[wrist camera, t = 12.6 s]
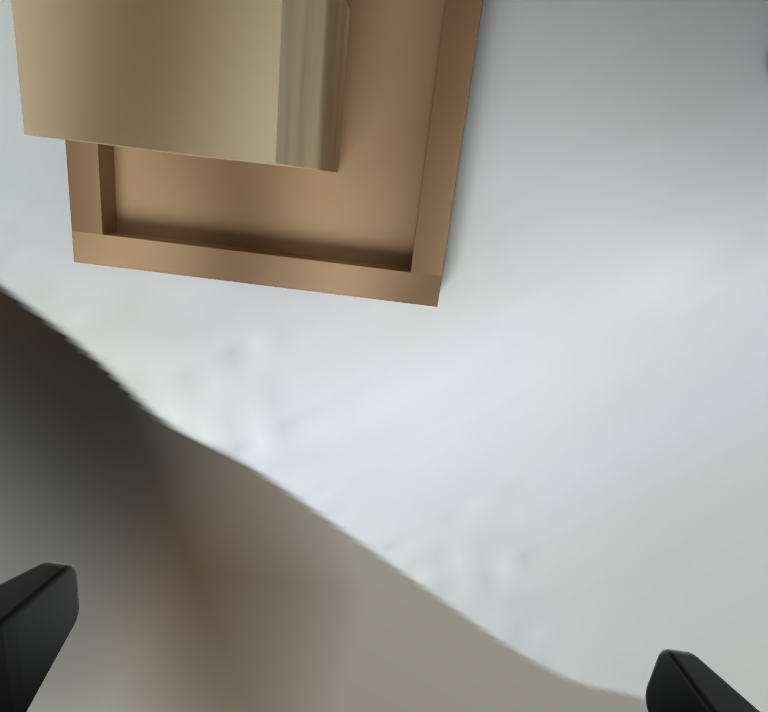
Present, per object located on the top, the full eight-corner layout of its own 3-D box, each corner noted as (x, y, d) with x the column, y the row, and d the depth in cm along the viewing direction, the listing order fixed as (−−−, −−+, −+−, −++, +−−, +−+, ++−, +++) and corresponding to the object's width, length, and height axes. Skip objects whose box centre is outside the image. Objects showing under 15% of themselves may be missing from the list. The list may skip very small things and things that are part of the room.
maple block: (350, 11, 15) (288, -155, 8) (337, 172, 17) (275, 163, 9) (198, -6, 16) (-7, -187, 8) (198, 156, 17) (24, 133, 9)
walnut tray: (496, -121, 15) (506, -154, 13) (435, 297, 19) (437, 306, 17) (76, -168, 15) (40, -205, 14) (99, 255, 19) (74, 261, 17)
